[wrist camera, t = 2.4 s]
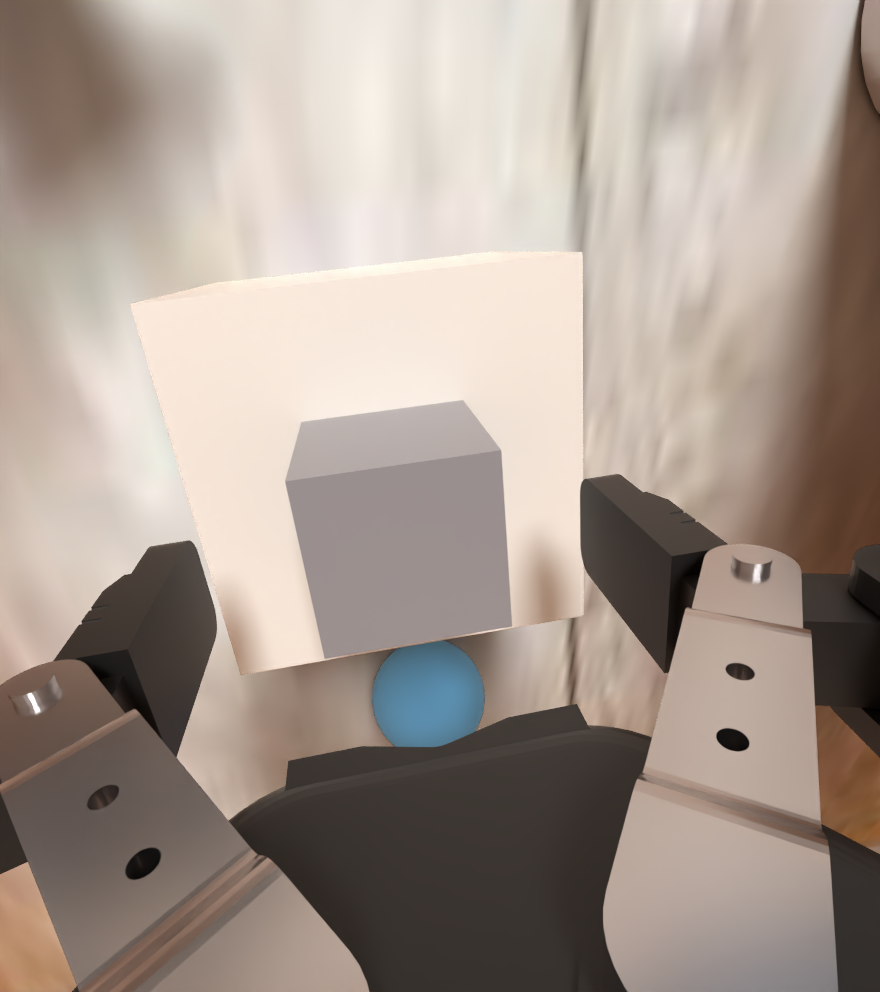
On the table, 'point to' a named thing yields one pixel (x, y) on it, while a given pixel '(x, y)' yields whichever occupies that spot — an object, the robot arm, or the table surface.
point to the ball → (427, 695)
